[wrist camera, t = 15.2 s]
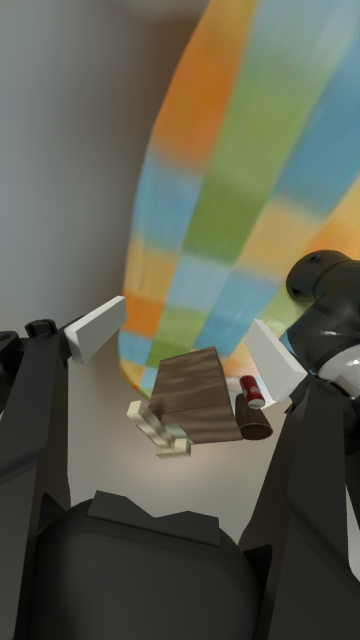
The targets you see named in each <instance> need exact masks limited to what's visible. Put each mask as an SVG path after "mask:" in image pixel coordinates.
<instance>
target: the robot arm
mask: <svg viewBox="0 0 360 640" xmlns="http://www.w3.org/2000/svg"><path fill="white" fill-rule="evenodd" d="M286 287H287V291H288V292H289V294H290V295H291V296H292V297H294V298H296V299H298V300H300V301H304V302H315V303H314V304H313V305H312V306H311V307H310V308H309V309H308V310H307V311H306V312H305V313H304V314H303V315H302V316H301V317H300V318H299V319H298V320H297V321H296V322H295V323H294V324H293V325H292V326H291V327H290V328H287V329H286V331H285V333H284V334H283V335H282V336H281V337H280V339H279V340H278V339H277V337H276V336H275V335H274V334H273V333H272V332H271V330H270V329H269V328H268V327H267V326H266V325H265V324H264V322H263V321H262V320H257V319H254V320H253V322H252V324H251V327H250V329H249V331H248V334H247V336H246V338H245V340H244V342H245V344H246V346H247V348H248V350H249V352H250V354H251V356H252V358H253V360H254V362H255V364H256V366H257V369H258V371H259V373H260V375H261V377H262V379H263V381H264V383H265V385H266V387H267V389H268V391H269V393H270V395H271V397H272V399H273V400H275V401H280V402H285V401H286V400H287V399H288V397H290V398H291V400H292V402H293V403H292V404H291V405H290V406H289V408H288V409H287V410H286V411H285V412H284V413H287V416H286V419H285V422H284V425H283V427H282V430H281V433H280V436H279V439H278V442H277V445H276V448H275V451H274V454H273V457H272V460H271V463H270V465H269V468H268V471H267V474H266V477H265V480H264V483H263V486H262V489H261V492H260V495H259V498H258V500H257V503H256V506H255V509H254V512H253V515H252V518H251V520H250V522H249V523H248V525H247V526H246V528H245V530H244V531H243V533H242V535H241V538H240V540H239V543H238V546H237V545H236V543H235V542H234V541H233V540H232V539H231V537H230V536H228V535H227V534H226V533H225V532H224V531H223V530H222V529H220V528H219V520H218V518H217V517H213V516H208V515H204V514H199V513H195V512H191V511H185V512H180V513H176V514H172V515H167V516H162V517H157V518H155V517H152V516H151V515H149V514H148V513H146V512H145V511H144V510H143V509H141V508H140V507H139V506H137V505H136V504H135V503H133V502H132V501H131V500H129V499H128V498H127V497H125V496H120V495H116V494H111V493H107V492H103V491H98V490H97V491H96V494H95V496H94V498H93V499H89V500H86V501H84V502H81V503H79V504H77V505H75V506H73V507H71V500H70V489H69V484H68V477H67V462H68V461H67V459H68V458H67V457H68V455H67V453H68V361H67V359H68V358H70V357H71V356H72V358H73V362H76V363H81V364H85V363H86V362H87V361H88V360H89V359H90V358H91V356H92V355H93V354H94V353H95V352H96V351H97V350H98V349H99V348H100V347H101V346H102V345H103V344H104V343H105V342H106V341H107V340H108V339H109V338H110V337H111V336H112V335H113V334H114V333H115V332H116V331H117V330H118V329H119V328H120V327H121V326H122V325H123V324H124V323H125V322H126V321H127V319H126V300H125V297H122V296H118V297H116V298H114V299H112V300H111V301H109V302H108V303H106V304H104V305H102V306H101V307H99V308H98V309H96V310H94V311H93V312H91V313H89V314H88V315H83V316H81V317H79V318H77V319H75V320H73V321H72V322H70V323H68V324H67V325H65V326H63V327H61V328H60V329H58V330H57V328H56V325H55V322H54V321H53V320H50V319H42V320H36V321H33V322H31V323H28V324H27V325H26V326H25V329H26V331H27V333H28V336H29V338H19V336H18V334H17V332H15V331H2V332H0V414H1V413H2V411H3V410H4V412H3V415H2V417H1V420H0V640H360V582H359V581H358V579H357V578H356V577H355V576H354V575H353V573H352V571H351V568H350V566H349V559H348V535H347V510H346V486H347V489H348V493H349V496H350V500H351V502H352V506H353V510H354V513H355V516H356V519H357V523H358V526H359V529H360V261H359V260H352V259H351V258H349V257H347V256H346V255H344V254H343V253H341V252H338V251H334V250H319V251H315V252H312V253H310V254H308V255H306V256H305V257H303V258H302V259H300V260H299V261H298V262H297V263H296V264H295V265H294V266H293V268H292V269H291V271H290V273H289V275H288V277H287V281H286ZM314 375H318V376H319V377H320V378H321V379H318V378H316V377H315V376H314ZM322 379H324V380H330V381H334V382H337V383H338V384H339V385H340V386H341V387H342V388H343V389H345V390H346V391H347V392H348V393H349V394H350V395H351V396H353V397H354V398H355V399H354V400H353V399H351V398H348V397H345V396H343V395H341V393H340V392H339V391H338V389H336V388H335V387H334V386H333V385H331V384H330V383H328V382H326V381H324V380H322ZM345 483H346V484H345ZM345 485H346V486H345Z"/></svg>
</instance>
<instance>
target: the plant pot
mask: <svg viewBox="0 0 360 640" xmlns="http://www.w3.org/2000/svg"><path fill="white" fill-rule="evenodd" d="M235 419H236V421H237V423H238V426H239V428H240V430H241V433H242V437H243V439H246V440H262V439H265V438H268V437H270V436H271V435H272V434H273V430H272V428H271V426H270V424H269V422H268V421H267V419H266V417H265V416H264V414H263V412H262V411H261V409H260V408H258V409H253V408H250V407H249V406H248V405H247V403H246V400H245V397H244V394H243V393H242V394H239V395H237V396H236V403H235Z"/></svg>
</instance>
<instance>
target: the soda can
mask: <svg viewBox="0 0 360 640" xmlns="http://www.w3.org/2000/svg"><path fill="white" fill-rule="evenodd" d="M239 382H240V385H241V388H242V391H243V394H244V397H245V400H246V403H247V405H248V406H249V407H250V408H253V409H258V408H262V407H263V406H264V405H265V399H264V397H263V395H262V393H261V391H260V389H259V386H258V384H257V382H256V380H255V378H254V377H253V376H250V375H245V376H243V377H241V378H240V380H239Z"/></svg>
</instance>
